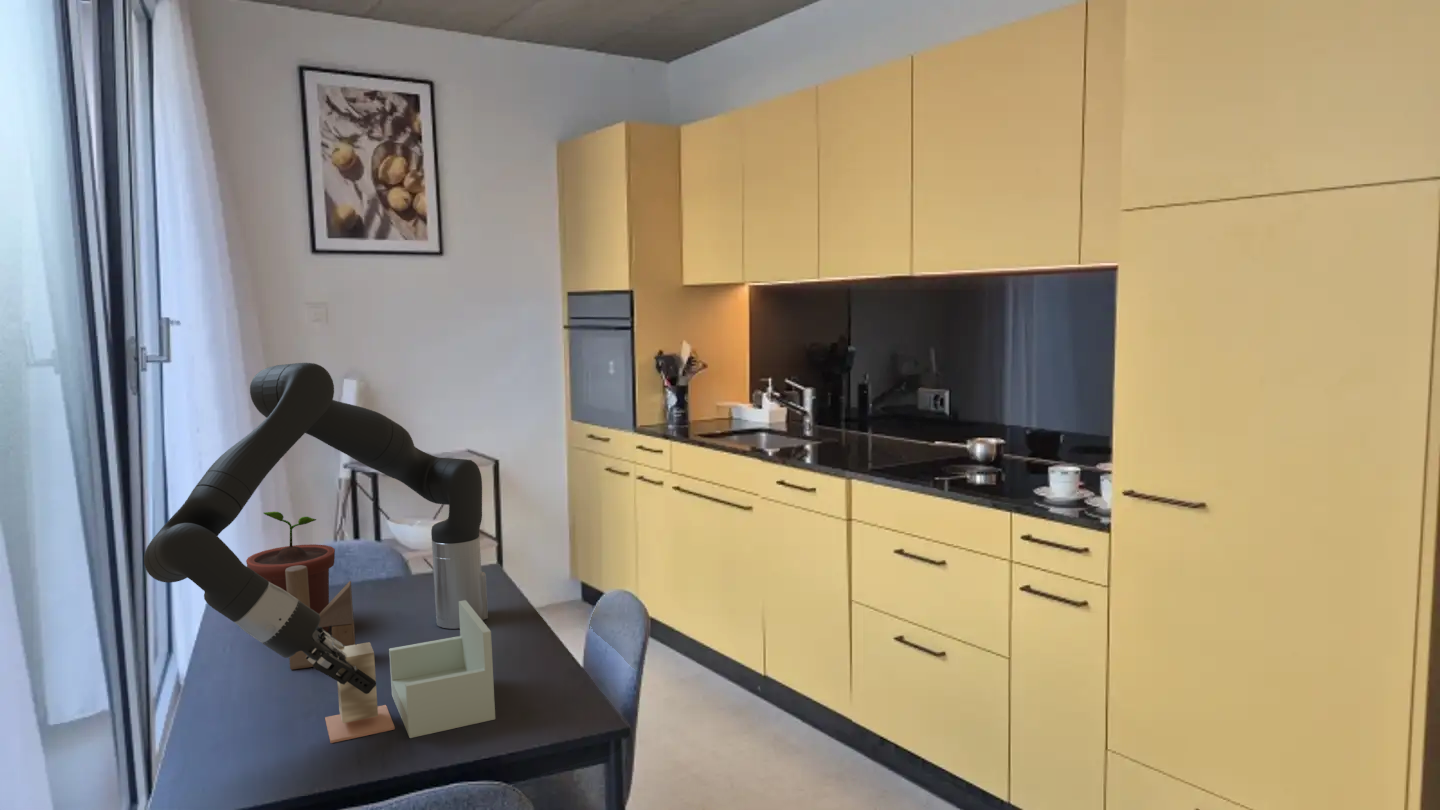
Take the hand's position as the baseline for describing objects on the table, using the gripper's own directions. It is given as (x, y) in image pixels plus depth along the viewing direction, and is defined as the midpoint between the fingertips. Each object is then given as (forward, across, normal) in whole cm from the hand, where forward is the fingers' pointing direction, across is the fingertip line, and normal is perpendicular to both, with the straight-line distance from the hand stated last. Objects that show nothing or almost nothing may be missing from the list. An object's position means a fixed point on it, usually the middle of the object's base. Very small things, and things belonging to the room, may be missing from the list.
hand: (369, 681), depth 144 cm
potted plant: (-1, +52, +11) cm, 53 cm away
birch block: (+2, 0, +5) cm, 5 cm away
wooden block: (+2, +30, +8) cm, 31 cm away
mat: (+3, 0, +6) cm, 7 cm away
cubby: (+12, 0, -3) cm, 12 cm away
